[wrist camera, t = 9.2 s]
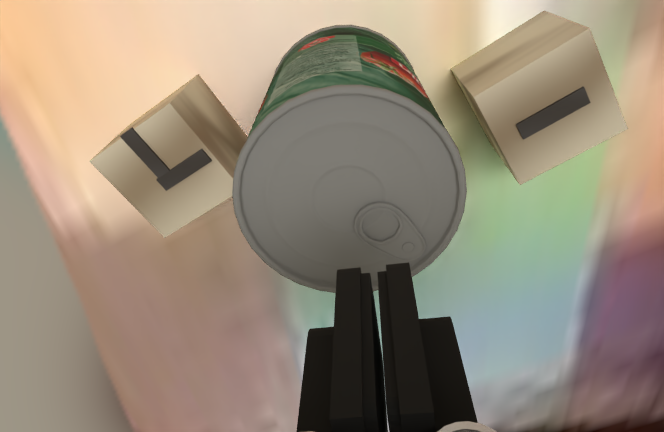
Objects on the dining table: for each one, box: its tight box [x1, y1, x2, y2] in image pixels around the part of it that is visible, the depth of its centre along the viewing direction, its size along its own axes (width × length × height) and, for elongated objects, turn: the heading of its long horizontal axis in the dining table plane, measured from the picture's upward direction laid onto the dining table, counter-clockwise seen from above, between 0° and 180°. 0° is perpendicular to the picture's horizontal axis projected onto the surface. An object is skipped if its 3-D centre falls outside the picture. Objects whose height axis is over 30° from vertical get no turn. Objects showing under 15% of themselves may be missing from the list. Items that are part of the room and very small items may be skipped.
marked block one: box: [451, 11, 628, 185], centre depth 23 cm, size 5×5×5 cm
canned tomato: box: [232, 25, 467, 293], centre depth 21 cm, size 8×8×11 cm
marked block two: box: [90, 74, 248, 238], centre depth 25 cm, size 5×5×5 cm
